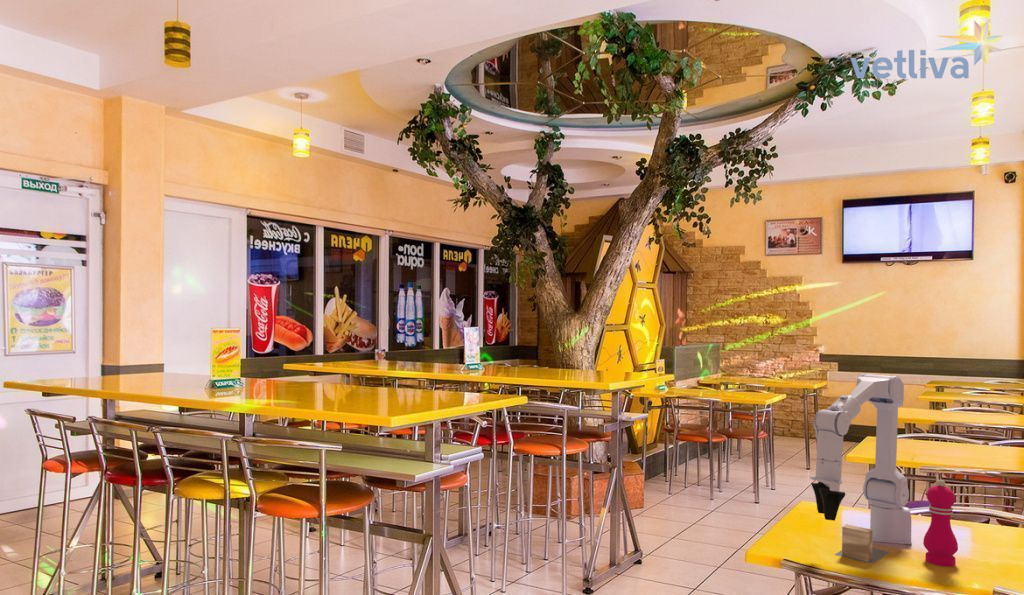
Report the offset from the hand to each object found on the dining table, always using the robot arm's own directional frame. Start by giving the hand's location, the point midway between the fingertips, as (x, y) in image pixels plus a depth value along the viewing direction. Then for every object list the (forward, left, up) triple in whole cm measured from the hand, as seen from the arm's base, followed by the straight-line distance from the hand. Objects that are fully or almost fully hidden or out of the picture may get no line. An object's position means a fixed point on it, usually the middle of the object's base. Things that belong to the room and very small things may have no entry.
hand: (826, 516), depth 177 cm
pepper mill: (-27, -6, -11) cm, 29 cm away
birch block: (-8, -4, -10) cm, 13 cm away
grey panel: (-10, -7, -10) cm, 16 cm away
